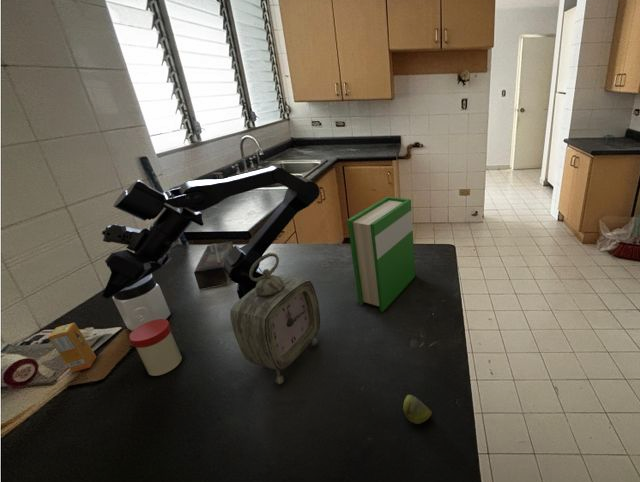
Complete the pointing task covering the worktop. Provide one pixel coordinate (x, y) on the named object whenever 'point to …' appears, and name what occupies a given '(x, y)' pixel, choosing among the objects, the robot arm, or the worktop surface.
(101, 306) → the worktop surface
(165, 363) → the jam jar
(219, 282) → the beverage carton
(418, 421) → the lime
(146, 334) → the jam lid
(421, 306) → the worktop surface
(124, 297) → the jar
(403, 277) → the hardback book
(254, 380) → the worktop surface
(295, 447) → the worktop surface
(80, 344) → the supplement box
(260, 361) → the tabletop clock
